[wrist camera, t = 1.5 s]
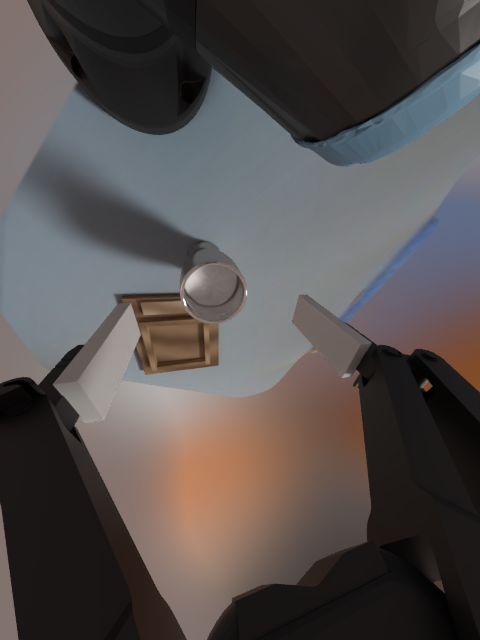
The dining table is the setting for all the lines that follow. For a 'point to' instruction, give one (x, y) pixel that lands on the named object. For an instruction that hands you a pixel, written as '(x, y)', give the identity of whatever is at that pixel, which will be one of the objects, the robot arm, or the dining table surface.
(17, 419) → the robot arm
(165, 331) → the tray
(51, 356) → the dining table surface
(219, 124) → the dining table surface
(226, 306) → the beer glass
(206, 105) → the dining table surface
